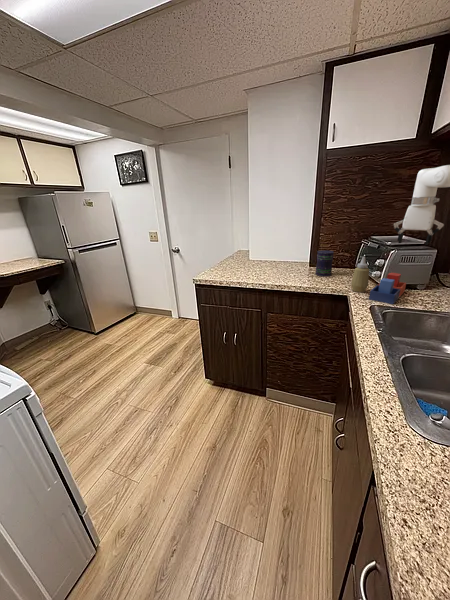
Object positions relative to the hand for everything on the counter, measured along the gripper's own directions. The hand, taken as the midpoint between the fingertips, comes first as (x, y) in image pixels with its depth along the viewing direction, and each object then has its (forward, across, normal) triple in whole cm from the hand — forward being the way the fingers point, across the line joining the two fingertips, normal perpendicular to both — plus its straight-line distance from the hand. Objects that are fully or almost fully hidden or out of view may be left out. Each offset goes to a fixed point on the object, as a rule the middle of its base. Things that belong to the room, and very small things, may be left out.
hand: (412, 243), depth 109 cm
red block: (+26, +6, -8) cm, 28 cm away
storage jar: (+26, +47, -20) cm, 58 cm away
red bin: (+26, +6, -8) cm, 28 cm away
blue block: (+26, +6, +4) cm, 27 cm away
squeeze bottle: (+26, +19, -1) cm, 33 cm away
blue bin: (+26, +6, +4) cm, 27 cm away
